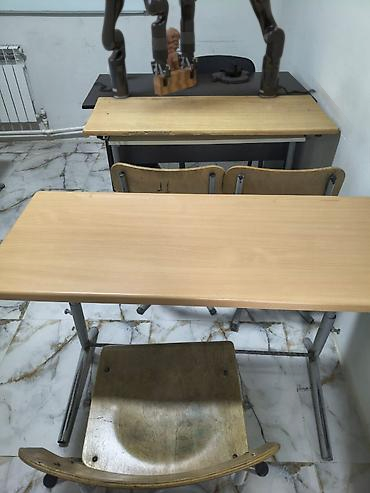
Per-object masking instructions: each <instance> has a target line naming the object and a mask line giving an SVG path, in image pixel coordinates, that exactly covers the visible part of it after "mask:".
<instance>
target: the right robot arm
mask: <svg viewBox="0 0 370 493" xmlns="http://www.w3.org/2000/svg"><path fill="white" fill-rule="evenodd" d="M197 1H198V0H178V5H179V7H180V20H179V33H180V39H179V51H180V53H179V54H178V63H179V67H181V69H183V68H186V66H187V67H189V68H190V79H194V77H195V70H196V71H197V70H198V69H199V59H200V58H199V57H195V52H196V34H195V15H196V2H197ZM248 2H249V4H250V6H251V9H252V10H253V13H254V15H255V17H256V19H257V22H258V24H259V27H260V30H261V34H262V38H263V41H264V43H265V46H266V47H265V53H264V55H263V57H262V62H261V63H262V65H261V75H260V85H259V93H258V95H259V97H261V98H267V99H269V98H276V97H278V94H279V91H281V89H282V90H284V91H285V94H292V93H298V94H309V93H310V92H313V93H316V90H315V89H313V88H311V89H309V90H306V91H303V90H296V89H295V90H294V89H293V90H291V91H288V90H287V88H286V87H285V86H283V85H282V84H281V83H280V77H279V74H280V68H281V61H282V57H283V55H284V48H285V43H286V33H285V31H284V29H283V28H281V27H279V26H278V24H277V22H276V20H275V17H274V14H273V11H272V3H271V0H248ZM192 68H193V69H192Z"/></svg>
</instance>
